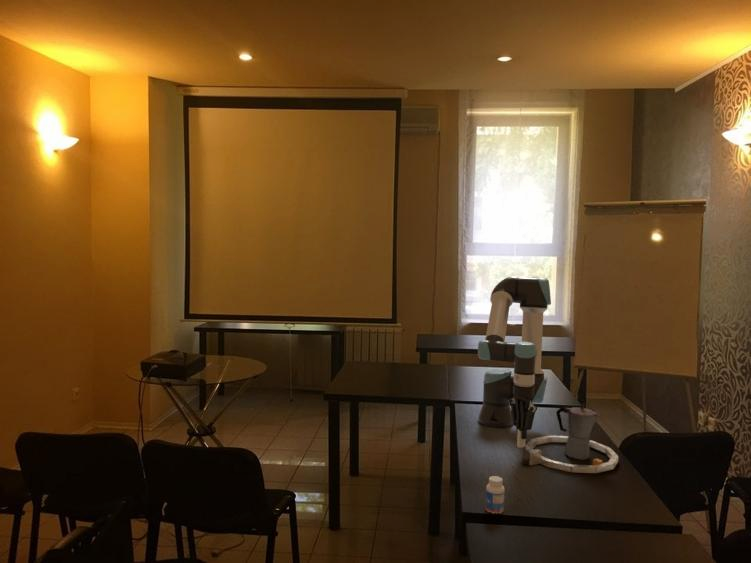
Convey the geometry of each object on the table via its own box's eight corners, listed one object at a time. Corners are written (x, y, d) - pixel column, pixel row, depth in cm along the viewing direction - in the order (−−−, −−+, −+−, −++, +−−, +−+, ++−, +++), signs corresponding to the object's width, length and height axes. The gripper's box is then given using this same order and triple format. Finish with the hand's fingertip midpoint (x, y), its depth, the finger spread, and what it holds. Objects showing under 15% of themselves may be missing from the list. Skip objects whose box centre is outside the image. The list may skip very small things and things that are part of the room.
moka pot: (599, 462, 216) (602, 409, 215) (555, 458, 220) (557, 405, 218) (596, 453, 225) (598, 402, 224) (553, 449, 229) (556, 398, 228)
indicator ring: (493, 450, 225) (494, 437, 225) (570, 436, 243) (570, 424, 243) (555, 482, 197) (555, 468, 196) (636, 463, 215) (636, 450, 214)
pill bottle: (483, 505, 180) (484, 474, 179) (500, 505, 180) (501, 474, 179) (488, 514, 174) (489, 482, 174) (506, 514, 175) (507, 482, 174)
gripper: (504, 381, 222) (501, 442, 224) (528, 389, 211) (525, 454, 213) (519, 379, 226) (517, 439, 227) (544, 387, 214) (541, 450, 216)
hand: (521, 446), depth 220 cm, fingers closed
